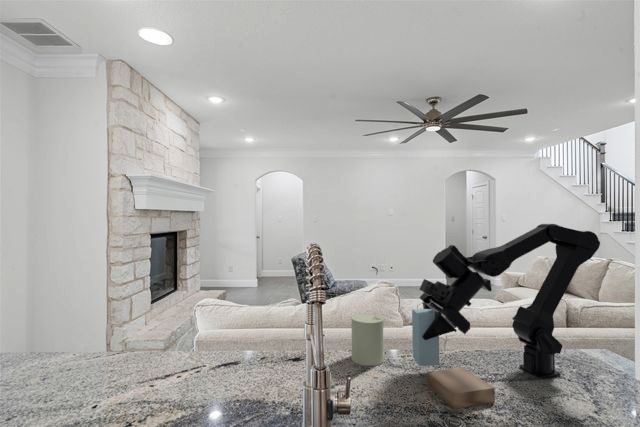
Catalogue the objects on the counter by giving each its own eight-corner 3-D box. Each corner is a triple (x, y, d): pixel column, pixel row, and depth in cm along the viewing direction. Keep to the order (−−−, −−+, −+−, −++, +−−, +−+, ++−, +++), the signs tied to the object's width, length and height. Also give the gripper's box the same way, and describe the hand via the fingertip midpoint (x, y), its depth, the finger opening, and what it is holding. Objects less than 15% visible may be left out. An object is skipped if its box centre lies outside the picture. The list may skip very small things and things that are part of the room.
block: (431, 356, 84) (430, 308, 84) (439, 365, 79) (438, 314, 79) (412, 357, 84) (412, 309, 84) (419, 365, 79) (418, 314, 79)
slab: (463, 379, 78) (463, 367, 78) (494, 402, 68) (494, 387, 68) (426, 384, 76) (426, 372, 76) (454, 408, 66) (453, 394, 66)
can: (384, 367, 85) (383, 322, 85) (349, 364, 87) (349, 320, 87) (384, 353, 94) (383, 312, 94) (352, 351, 96) (352, 310, 96)
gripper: (426, 264, 91) (388, 303, 91) (456, 274, 73) (408, 324, 72) (453, 291, 91) (416, 331, 91) (490, 308, 73) (443, 359, 72)
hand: (419, 334), depth 81 cm, fingers closed on block, 5 cm apart
